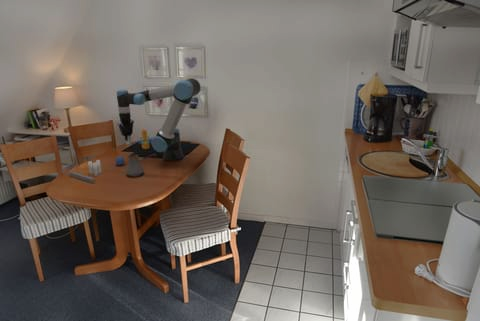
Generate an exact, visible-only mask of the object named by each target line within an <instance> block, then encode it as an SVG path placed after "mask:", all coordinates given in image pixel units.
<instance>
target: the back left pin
mask: <svg viewBox="0 0 480 321" xmlns="http://www.w3.org/2000/svg"><path fill="white" fill-rule="evenodd" d="M92 167H93V172H94V174H93V175H94V177H98V176H99V173H98V169H97V163H96V162H92Z"/></svg>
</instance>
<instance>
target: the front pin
mask: <svg viewBox="0 0 480 321" xmlns="http://www.w3.org/2000/svg"><path fill="white" fill-rule="evenodd" d="M95 163H97V169H98V174H102V166H101V160H100V159H97V160H95Z"/></svg>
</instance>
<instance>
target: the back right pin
mask: <svg viewBox="0 0 480 321" xmlns="http://www.w3.org/2000/svg"><path fill="white" fill-rule="evenodd" d="M92 163H93V162H92V160H91V161H87V166H88V171H89V172H88V173H89V175H94V170H93V164H92Z"/></svg>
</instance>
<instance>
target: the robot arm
mask: <svg viewBox="0 0 480 321" xmlns="http://www.w3.org/2000/svg"><path fill="white" fill-rule="evenodd" d="M200 92H201V84H200V82H199V81H198V80H197V79H195V78H187V79H181V80H179V81H178V82H176V84H171V85H167V86H162V87H157V88H152V89H146V90H143V91H140V92H134V93H132V92H129V90H128V89H118V90H116V100H117V108H118V109H117V110H118V116H119V123H116V124H117V126H118V128H119V132H120V134H121V136H122V137H124V140H125V143H126V144H125V145H126V146H130V145H131V140H132V139H131V136H132V135H133V133H134V132H133V130H134V129H133V128H134V123H135V121H134V120H132V118H131V117H132V116H131V108H130V105H136V106H143V105H144V104H145V103H147V102H151V101H156V100H161V99H167V98H172V97H173V102H172V104H171V106H170V109H169V110H168V113H167V115H166V118H165V120H164V123H163V125H162V126H161V128H159V129H158V130H157V133H156V135H155V136H154V137H152V139H151V142H150V145H151V146H152V148H153V150H155V151H156V152H157V153H163V155H162V159H163V161H165V162H179V161H182V160H183V159H184V158H185V157H184V153H183V150H182V148H181V134H180V128H177V126H178V124H179V122H180V120H181V117H183V116H182V115H183V114H184V112H185V109H186V107H187V105H190V104H191V102H192V100H193V97H195V96H197V95H198V94H199V93H200Z"/></svg>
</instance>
